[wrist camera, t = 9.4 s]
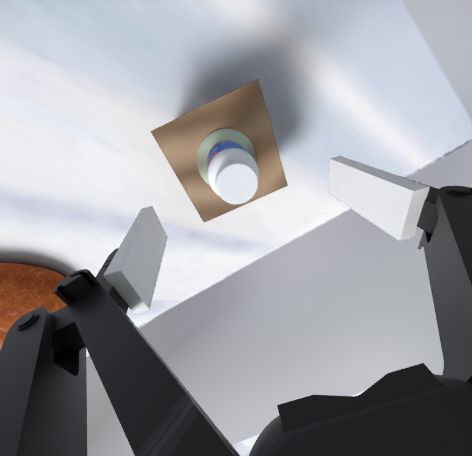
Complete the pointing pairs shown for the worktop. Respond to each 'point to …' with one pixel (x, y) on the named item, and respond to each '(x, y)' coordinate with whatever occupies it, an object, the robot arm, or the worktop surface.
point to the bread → (25, 292)
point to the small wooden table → (213, 131)
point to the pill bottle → (232, 172)
